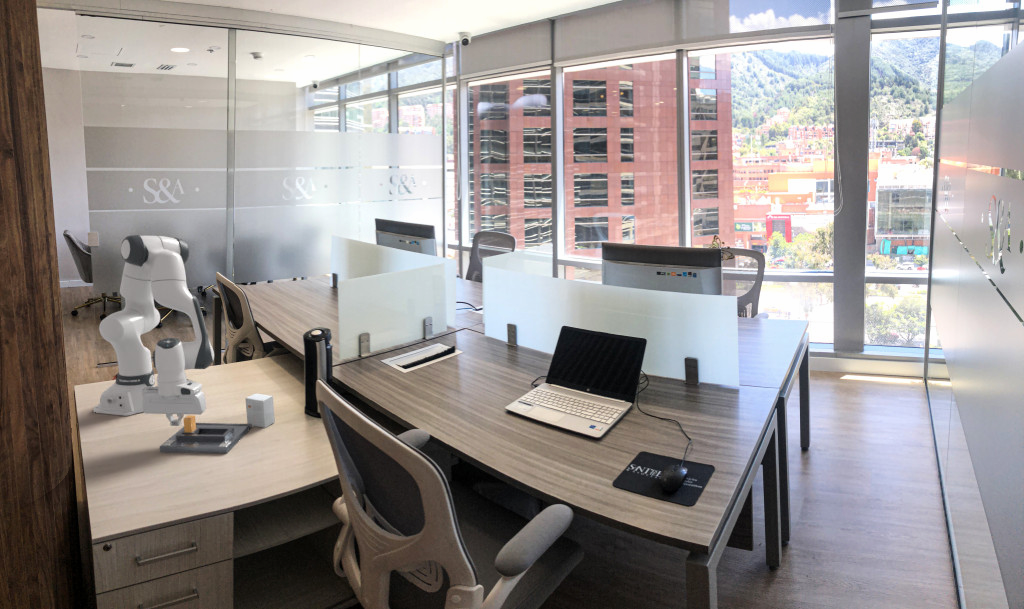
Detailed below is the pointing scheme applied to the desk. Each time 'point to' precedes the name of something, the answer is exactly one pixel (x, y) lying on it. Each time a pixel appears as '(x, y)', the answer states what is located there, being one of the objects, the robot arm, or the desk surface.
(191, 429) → the lever
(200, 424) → the twin grey rods
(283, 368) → the desk surface
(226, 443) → the breaker panel
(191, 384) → the robot arm
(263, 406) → the small box
